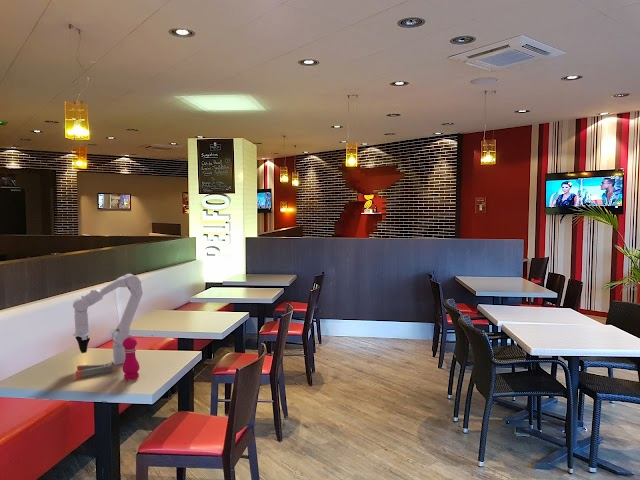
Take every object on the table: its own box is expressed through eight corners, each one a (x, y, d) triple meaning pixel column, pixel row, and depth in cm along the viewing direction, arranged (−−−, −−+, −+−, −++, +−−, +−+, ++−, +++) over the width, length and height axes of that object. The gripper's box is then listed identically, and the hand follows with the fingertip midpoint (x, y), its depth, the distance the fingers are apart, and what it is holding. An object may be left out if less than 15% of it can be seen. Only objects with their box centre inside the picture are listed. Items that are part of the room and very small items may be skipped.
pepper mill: (143, 375, 224) (141, 332, 222) (132, 381, 217) (130, 336, 216) (130, 374, 226) (128, 331, 225) (119, 379, 219) (117, 335, 218)
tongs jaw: (104, 370, 232) (104, 364, 232) (103, 371, 230) (102, 365, 230) (79, 371, 231) (78, 365, 231) (77, 372, 230) (77, 366, 230)
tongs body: (111, 369, 233) (111, 362, 233) (113, 372, 229) (113, 365, 229) (75, 376, 225) (74, 369, 225) (76, 379, 221) (76, 372, 221)
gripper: (70, 322, 238) (72, 349, 239) (74, 327, 226) (75, 356, 227) (86, 320, 242) (88, 347, 243) (90, 325, 230) (92, 354, 231)
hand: (83, 351), depth 235 cm, fingers open, 4 cm apart
